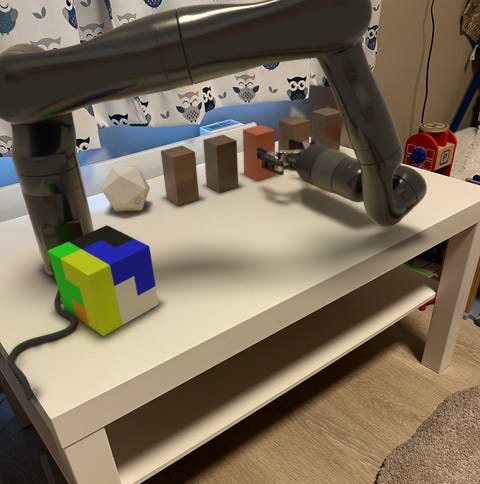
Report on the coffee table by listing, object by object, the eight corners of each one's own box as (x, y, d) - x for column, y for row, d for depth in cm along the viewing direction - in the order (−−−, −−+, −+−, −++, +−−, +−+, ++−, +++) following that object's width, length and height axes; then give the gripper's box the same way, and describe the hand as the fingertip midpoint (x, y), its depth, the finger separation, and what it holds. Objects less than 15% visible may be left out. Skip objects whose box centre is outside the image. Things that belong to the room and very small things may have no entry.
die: (131, 225, 102) (154, 178, 99) (89, 201, 100) (112, 154, 98) (139, 220, 110) (161, 177, 107) (100, 199, 109) (121, 155, 106)
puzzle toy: (158, 304, 79) (149, 246, 73) (103, 336, 73) (88, 275, 67) (118, 281, 84) (107, 225, 78) (64, 309, 79) (47, 250, 73)
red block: (274, 175, 118) (275, 130, 112) (257, 180, 115) (256, 135, 109) (261, 168, 121) (261, 124, 115) (243, 174, 119) (242, 129, 113)
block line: (339, 154, 126) (342, 111, 120) (178, 206, 106) (173, 157, 100) (325, 149, 130) (327, 107, 124) (166, 198, 110) (160, 150, 104)
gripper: (356, 141, 100) (300, 122, 111) (300, 158, 94) (246, 136, 105) (352, 178, 105) (299, 157, 116) (298, 198, 98) (247, 173, 109)
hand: (274, 147), depth 110 cm, fingers open, 8 cm apart
